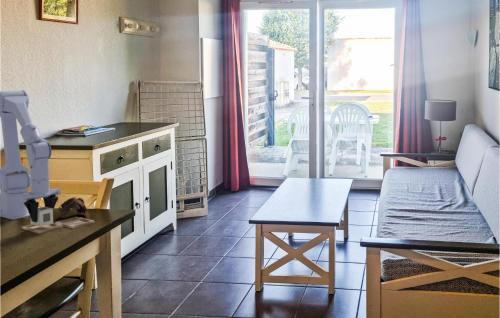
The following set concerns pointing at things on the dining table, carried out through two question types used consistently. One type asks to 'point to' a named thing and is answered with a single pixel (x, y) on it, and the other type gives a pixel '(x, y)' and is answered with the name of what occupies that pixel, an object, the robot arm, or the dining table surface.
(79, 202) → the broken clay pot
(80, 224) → the tray far
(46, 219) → the white marked cube
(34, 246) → the dining table surface
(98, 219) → the dining table surface
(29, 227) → the tray near
